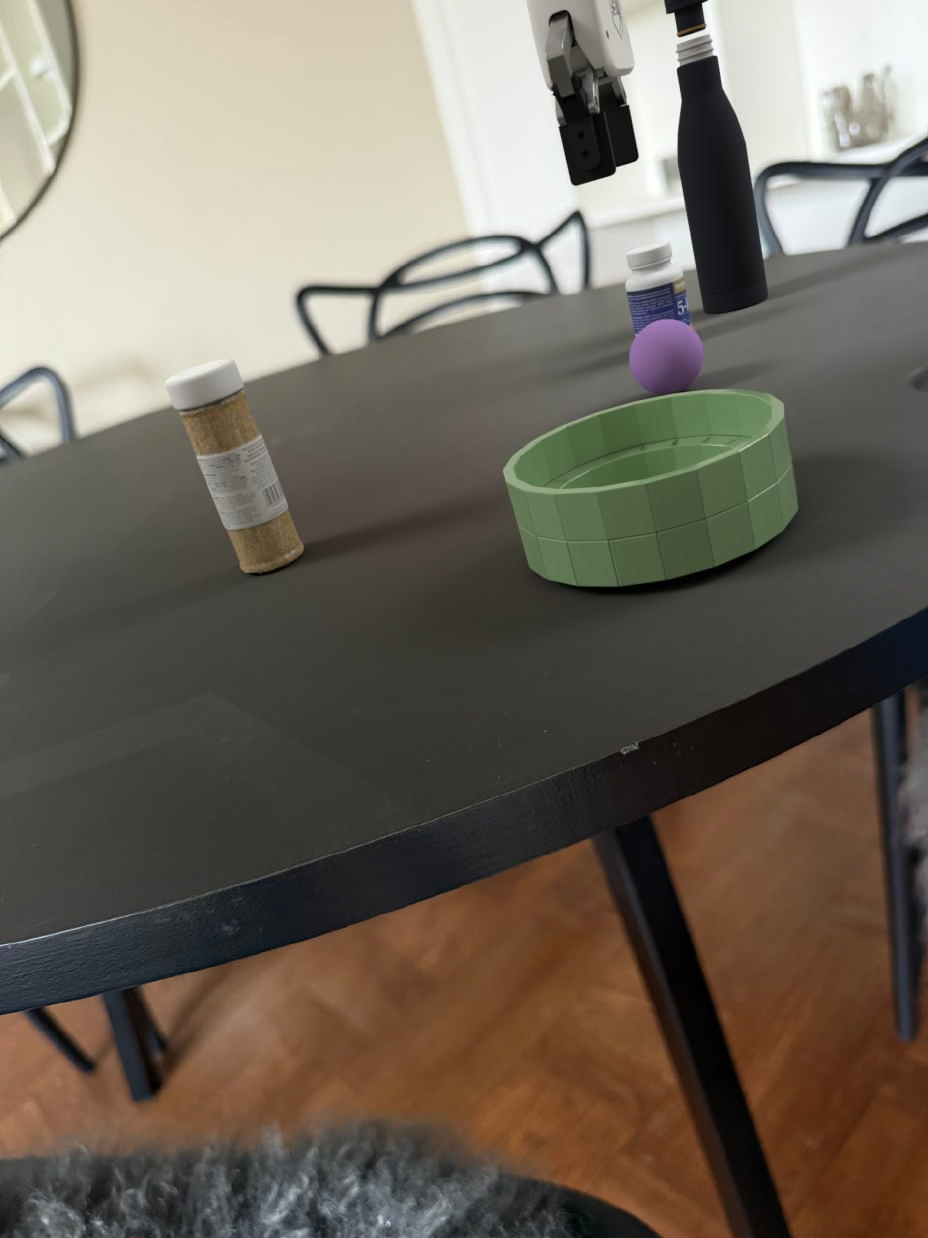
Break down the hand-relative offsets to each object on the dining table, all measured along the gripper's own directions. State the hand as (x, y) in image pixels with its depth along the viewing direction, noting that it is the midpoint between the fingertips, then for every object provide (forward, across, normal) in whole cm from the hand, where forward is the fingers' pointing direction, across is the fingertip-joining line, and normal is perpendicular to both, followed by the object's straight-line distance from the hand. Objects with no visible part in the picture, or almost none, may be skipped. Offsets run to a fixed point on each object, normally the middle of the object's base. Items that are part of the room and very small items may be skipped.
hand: (607, 172), depth 73 cm
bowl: (+16, -31, -5) cm, 35 cm away
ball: (+14, -2, -2) cm, 14 cm away
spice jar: (+17, -26, +22) cm, 38 cm away
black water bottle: (+17, +27, -4) cm, 32 cm away
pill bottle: (+17, +15, +1) cm, 22 cm away
